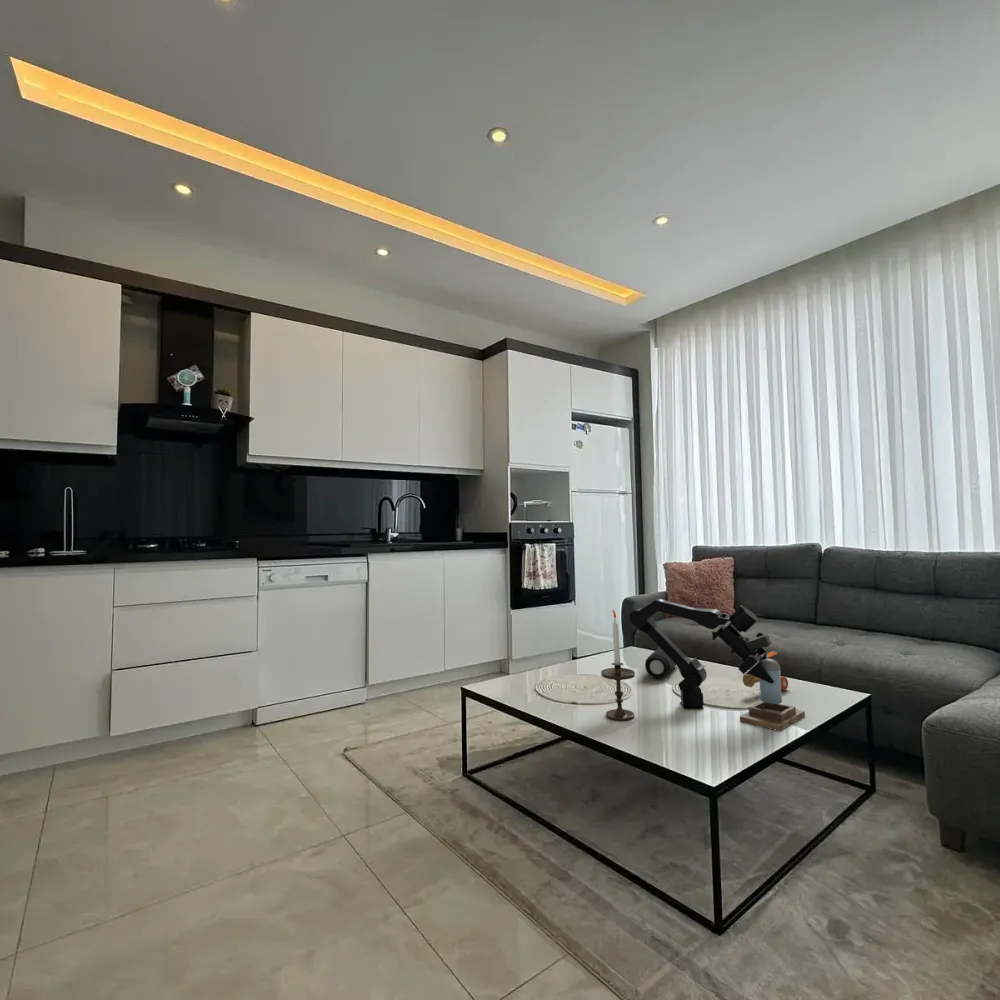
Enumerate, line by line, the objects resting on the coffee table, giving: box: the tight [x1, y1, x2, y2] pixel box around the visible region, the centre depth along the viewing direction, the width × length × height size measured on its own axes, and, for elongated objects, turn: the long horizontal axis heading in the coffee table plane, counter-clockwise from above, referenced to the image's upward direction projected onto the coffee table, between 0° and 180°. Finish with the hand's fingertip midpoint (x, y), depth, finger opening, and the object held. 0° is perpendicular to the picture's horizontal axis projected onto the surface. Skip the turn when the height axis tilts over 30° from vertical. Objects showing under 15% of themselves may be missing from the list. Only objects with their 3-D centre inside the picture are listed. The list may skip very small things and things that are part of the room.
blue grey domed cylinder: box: [759, 658, 783, 704], centre depth 175 cm, size 6×6×13 cm
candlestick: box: [600, 608, 636, 722], centre depth 183 cm, size 11×11×35 cm
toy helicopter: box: [742, 650, 789, 692], centre depth 201 cm, size 8×21×14 cm, turn 122°
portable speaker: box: [644, 646, 677, 680], centre depth 233 cm, size 26×10×10 cm, turn 151°
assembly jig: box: [739, 700, 806, 731], centre depth 175 cm, size 18×12×4 cm, turn 129°
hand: (774, 680), depth 174 cm, fingers closed on blue grey domed cylinder, 6 cm apart
